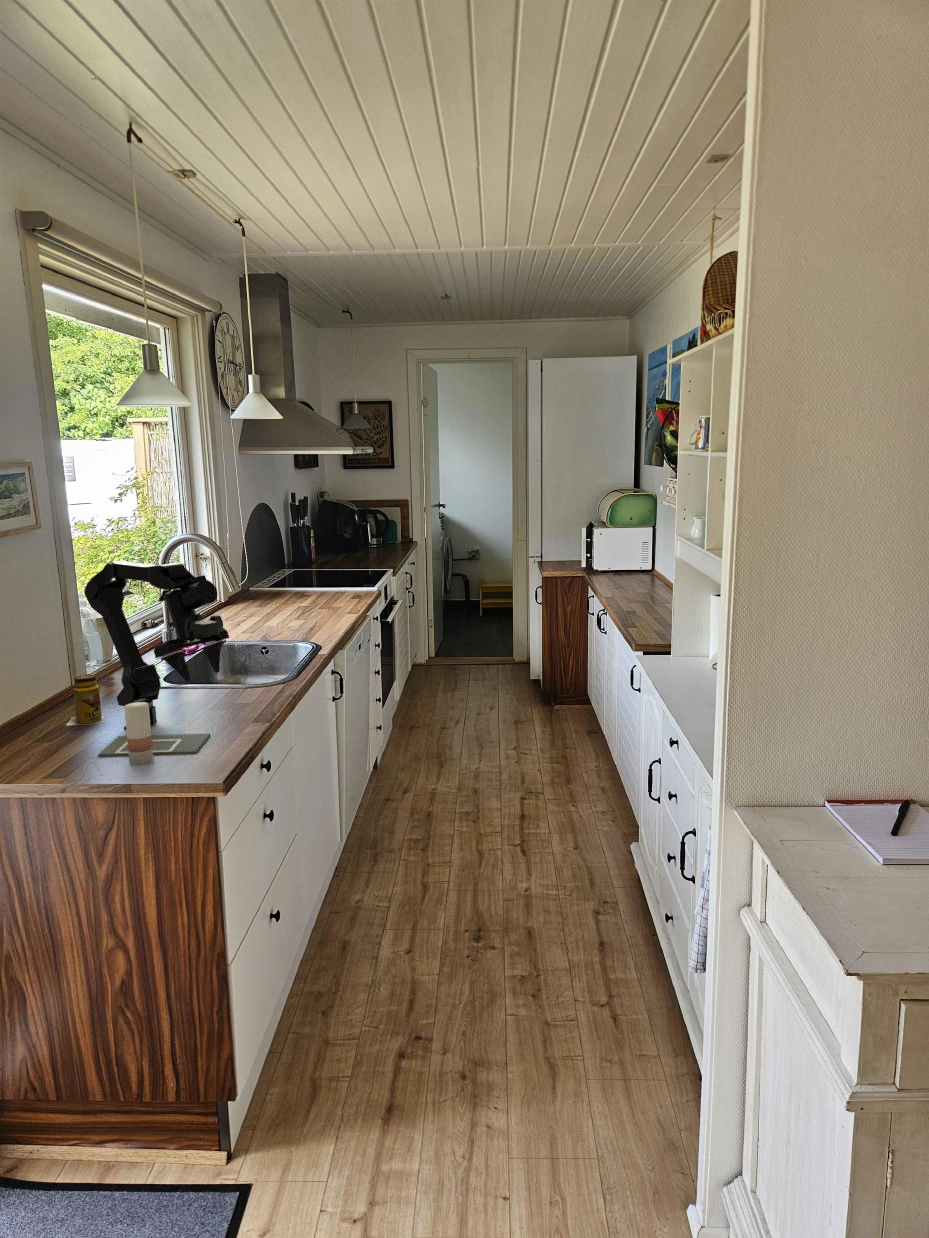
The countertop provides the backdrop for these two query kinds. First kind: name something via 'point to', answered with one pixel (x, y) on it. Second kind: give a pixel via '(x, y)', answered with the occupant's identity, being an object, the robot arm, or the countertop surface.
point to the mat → (160, 745)
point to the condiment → (86, 701)
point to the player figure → (138, 733)
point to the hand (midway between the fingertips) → (203, 676)
